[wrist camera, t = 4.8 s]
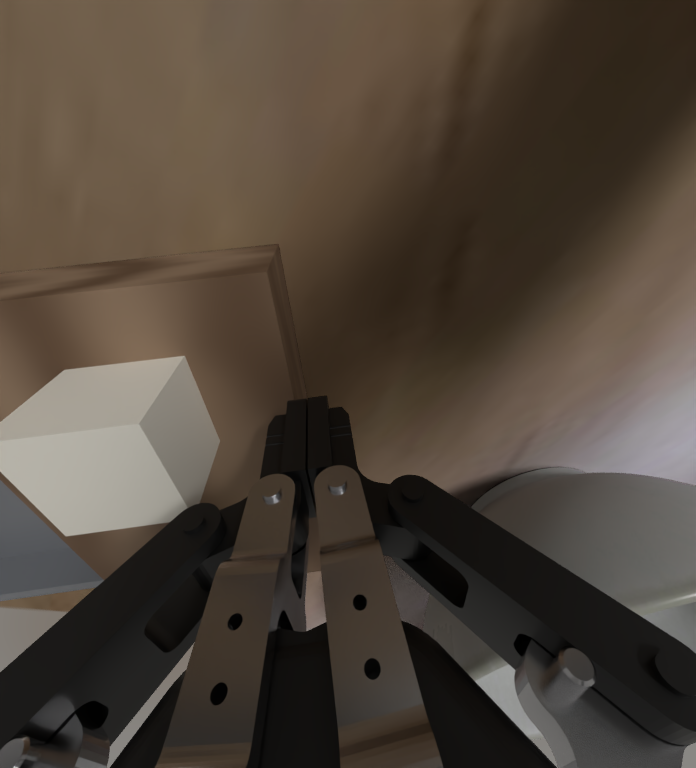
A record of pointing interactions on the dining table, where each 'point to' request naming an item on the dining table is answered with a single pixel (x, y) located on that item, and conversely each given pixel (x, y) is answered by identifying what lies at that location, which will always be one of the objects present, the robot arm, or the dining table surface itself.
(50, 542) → the tray
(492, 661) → the decorative bowl
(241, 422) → the walnut board
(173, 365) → the cream cube
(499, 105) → the dining table surface
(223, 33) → the dining table surface
